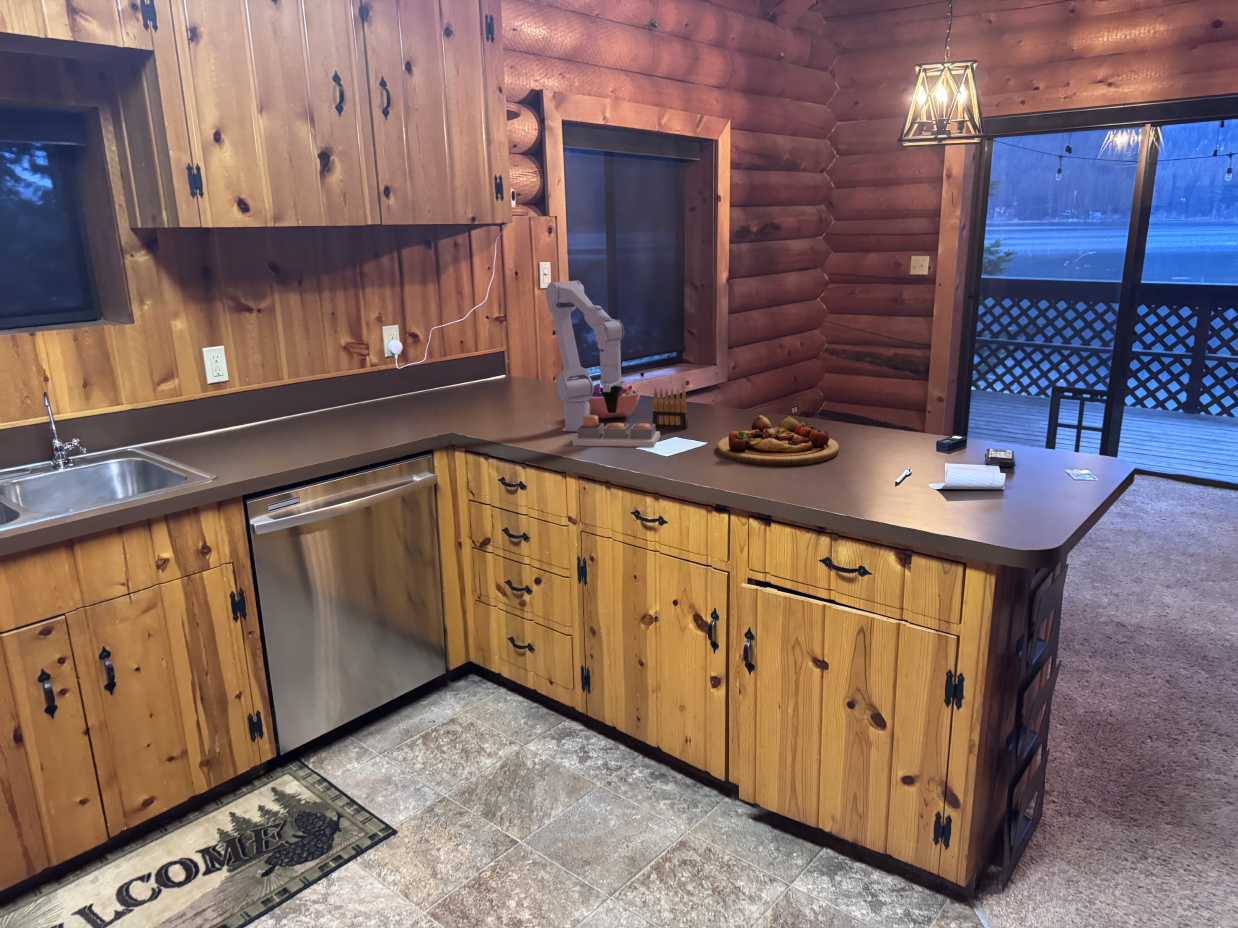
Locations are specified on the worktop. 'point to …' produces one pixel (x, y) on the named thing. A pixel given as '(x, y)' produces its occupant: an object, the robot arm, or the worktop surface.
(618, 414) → the cell model
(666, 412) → the ammunition clip
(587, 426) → the end knob
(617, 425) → the centre knob
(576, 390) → the robot arm
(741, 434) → the wooden plate with food
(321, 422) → the worktop surface
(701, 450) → the worktop surface
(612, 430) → the plate
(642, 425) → the knob
